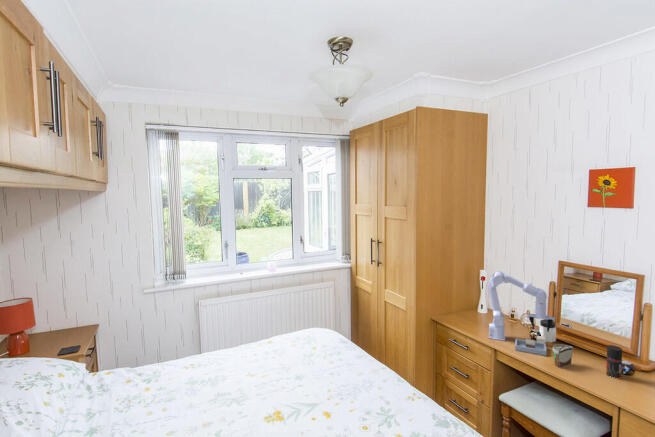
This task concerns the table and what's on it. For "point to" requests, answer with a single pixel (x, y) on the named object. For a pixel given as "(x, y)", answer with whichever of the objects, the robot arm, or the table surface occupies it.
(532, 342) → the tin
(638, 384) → the table surface
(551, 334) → the jar
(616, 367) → the deodorant
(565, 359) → the food container
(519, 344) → the tote
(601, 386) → the table surface
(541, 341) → the white cube
